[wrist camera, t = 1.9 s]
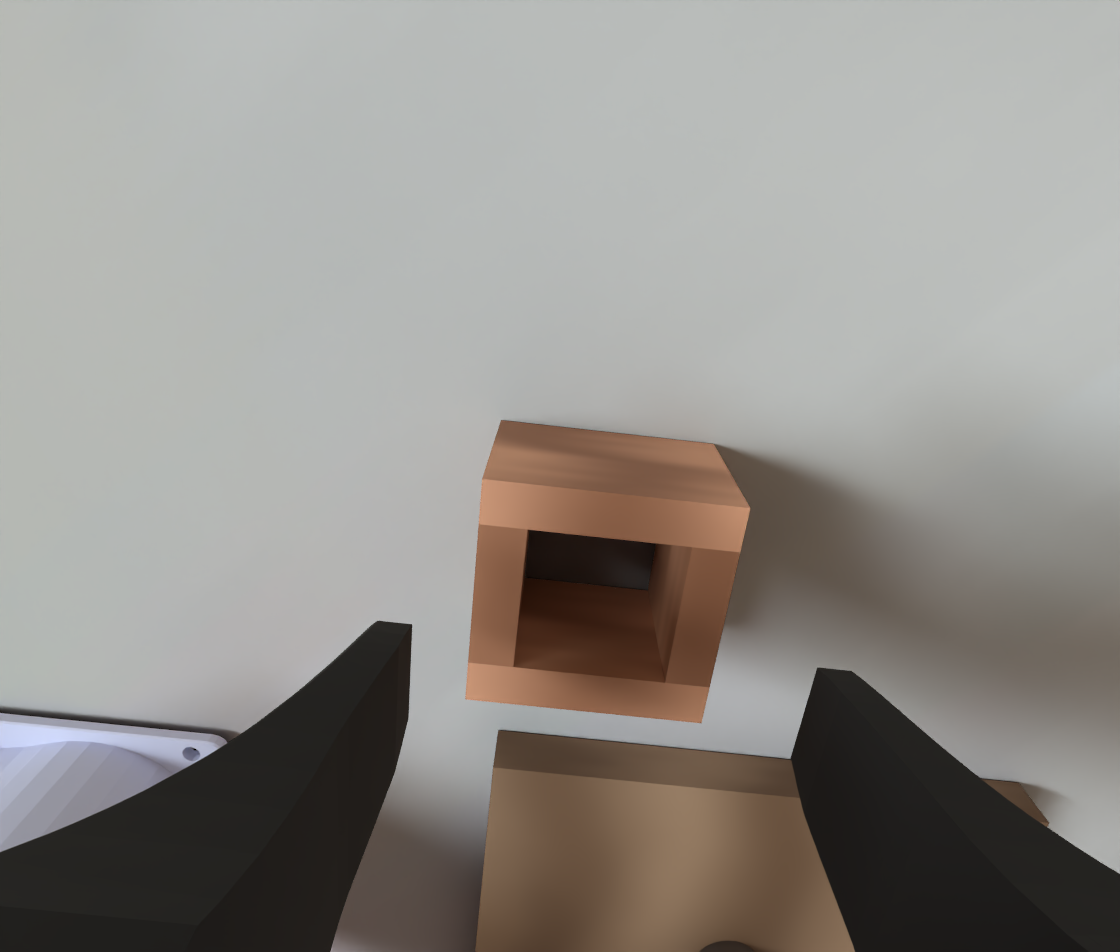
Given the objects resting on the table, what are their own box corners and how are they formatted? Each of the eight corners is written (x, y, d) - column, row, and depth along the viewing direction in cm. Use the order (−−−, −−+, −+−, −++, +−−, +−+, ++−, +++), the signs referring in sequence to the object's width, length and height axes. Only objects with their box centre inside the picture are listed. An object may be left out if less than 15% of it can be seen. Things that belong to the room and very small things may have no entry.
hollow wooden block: (485, 605, 20) (465, 699, 16) (501, 420, 18) (482, 479, 14) (677, 625, 20) (701, 723, 16) (713, 443, 18) (750, 508, 14)
